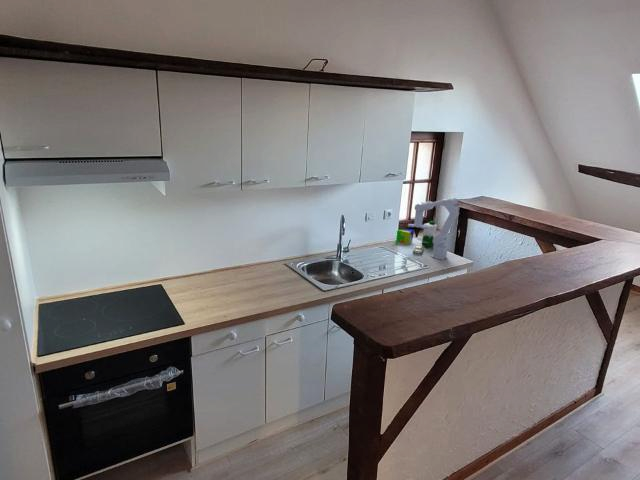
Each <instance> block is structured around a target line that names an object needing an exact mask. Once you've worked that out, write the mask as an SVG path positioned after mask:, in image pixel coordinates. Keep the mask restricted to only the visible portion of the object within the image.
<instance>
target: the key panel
mask: <svg viewBox="0 0 640 480" xmlns="http://www.w3.org/2000/svg"><path fill="white" fill-rule="evenodd" d="M416 246H417V244H415V246H414V248H413V252H412V254H413V255H419V256H422V254H423V252H424V249H425V247H424V246H422V249H421V252H419V251H415V249H416Z"/></svg>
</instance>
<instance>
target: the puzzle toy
mask: <svg viewBox="0 0 640 480" xmlns="http://www.w3.org/2000/svg"><path fill="white" fill-rule="evenodd" d="M414 233H415V231H414V229H410V228H404V227H401V228H399V229H398V230H397V231H396V240H395V241H396V243H397V242H399V243H398V244H402V243H403V244H404V245H410V244H411V243H413V239H414Z"/></svg>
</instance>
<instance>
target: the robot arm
mask: <svg viewBox="0 0 640 480" xmlns="http://www.w3.org/2000/svg"><path fill="white" fill-rule="evenodd" d="M437 206H438V207H439V206H443V207H444V208H445V209H446V211H448V213H449V214H448V216H447V218H446V220H445V221H444V223H443V226H442V227H441V229H440V231H439V232H438V233H437V234H436V235H435V238H434V239H433V244H434V247H432V248H433V249H432V255H430V257H431V258H434V259H435V258H436V259H439V260H444V259H446V258H447V257H448V256H447V255H448V247H447V246H445V244H446V243H447V241H448V236H449V235H448V233H450V230H451V228H452V226H453V225H454V223H455V221H456V219H457V217H458V216H459V213H460V212H459V209H460V202H459V200H458V199H457V198H455V197H453V198H444V199H441V200H437V201H431V200H426V201H425V202H423V201H421V203H416V204H415V206H414V210H415V212H414V213H415V215H414V223H408V224H407V228H410V227H411V228H413V230H414V236H415V238H418V236H419V234H420V232H421V230H422V229H423V230H424V229H428V226H424V224H423V221H424V213H425V211H428V210H432V209H433V208H434V207H437Z"/></svg>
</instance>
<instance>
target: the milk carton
mask: <svg viewBox="0 0 640 480" xmlns="http://www.w3.org/2000/svg"><path fill="white" fill-rule="evenodd" d="M423 225H424V226H428V229H424V228H423V233H422V240H421V245H422V246H424V248H426V249H431V248H434V247H433V246H434V244H433V239H434V238H435V237H436V235H437V234H436V233H437V227H438V224H436V222H435V221H434V220H429V222H426V223H423Z"/></svg>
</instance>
